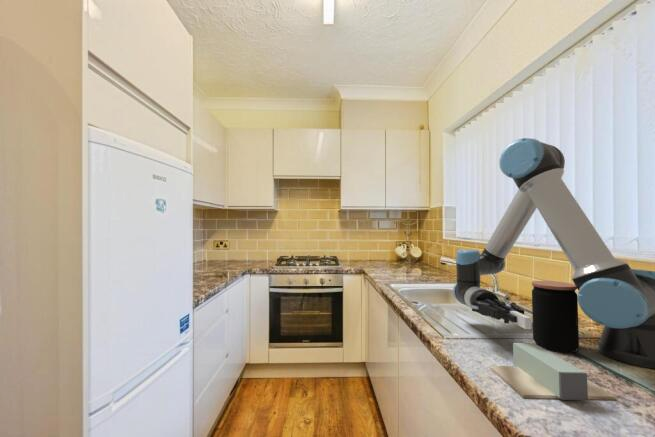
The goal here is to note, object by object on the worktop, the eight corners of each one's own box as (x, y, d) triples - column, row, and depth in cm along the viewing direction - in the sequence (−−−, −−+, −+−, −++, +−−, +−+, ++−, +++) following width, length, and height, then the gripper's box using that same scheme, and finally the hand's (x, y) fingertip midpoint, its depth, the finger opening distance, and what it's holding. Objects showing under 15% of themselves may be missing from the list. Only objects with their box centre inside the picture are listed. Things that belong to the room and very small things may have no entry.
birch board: (566, 369, 73) (566, 367, 73) (615, 399, 60) (615, 396, 60) (489, 368, 73) (489, 365, 73) (522, 397, 60) (522, 394, 60)
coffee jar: (588, 355, 81) (586, 287, 82) (544, 352, 83) (542, 286, 84) (565, 341, 92) (563, 281, 92) (526, 338, 94) (525, 280, 94)
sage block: (533, 343, 75) (587, 373, 59) (534, 363, 75) (587, 399, 59) (513, 342, 75) (560, 373, 59) (513, 363, 75) (561, 399, 59)
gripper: (502, 313, 96) (556, 339, 72) (461, 312, 96) (501, 339, 73) (502, 289, 96) (555, 308, 73) (460, 288, 97) (500, 307, 73)
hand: (528, 323), depth 73 cm, fingers closed
